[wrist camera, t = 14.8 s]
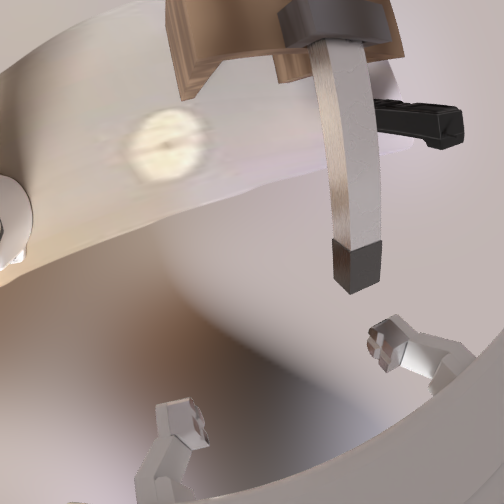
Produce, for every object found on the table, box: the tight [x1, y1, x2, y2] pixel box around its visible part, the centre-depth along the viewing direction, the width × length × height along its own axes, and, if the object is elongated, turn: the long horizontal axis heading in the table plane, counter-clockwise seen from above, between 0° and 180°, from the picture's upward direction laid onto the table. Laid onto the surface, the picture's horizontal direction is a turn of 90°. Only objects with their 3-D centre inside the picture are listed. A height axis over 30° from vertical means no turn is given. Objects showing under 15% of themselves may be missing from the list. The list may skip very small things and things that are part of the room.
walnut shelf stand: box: [165, 0, 405, 101], centre depth 21 cm, size 18×14×30 cm
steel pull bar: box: [307, 38, 382, 295], centre depth 17 cm, size 3×24×3 cm, turn 12°
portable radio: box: [373, 99, 464, 150], centre depth 34 cm, size 8×6×25 cm
